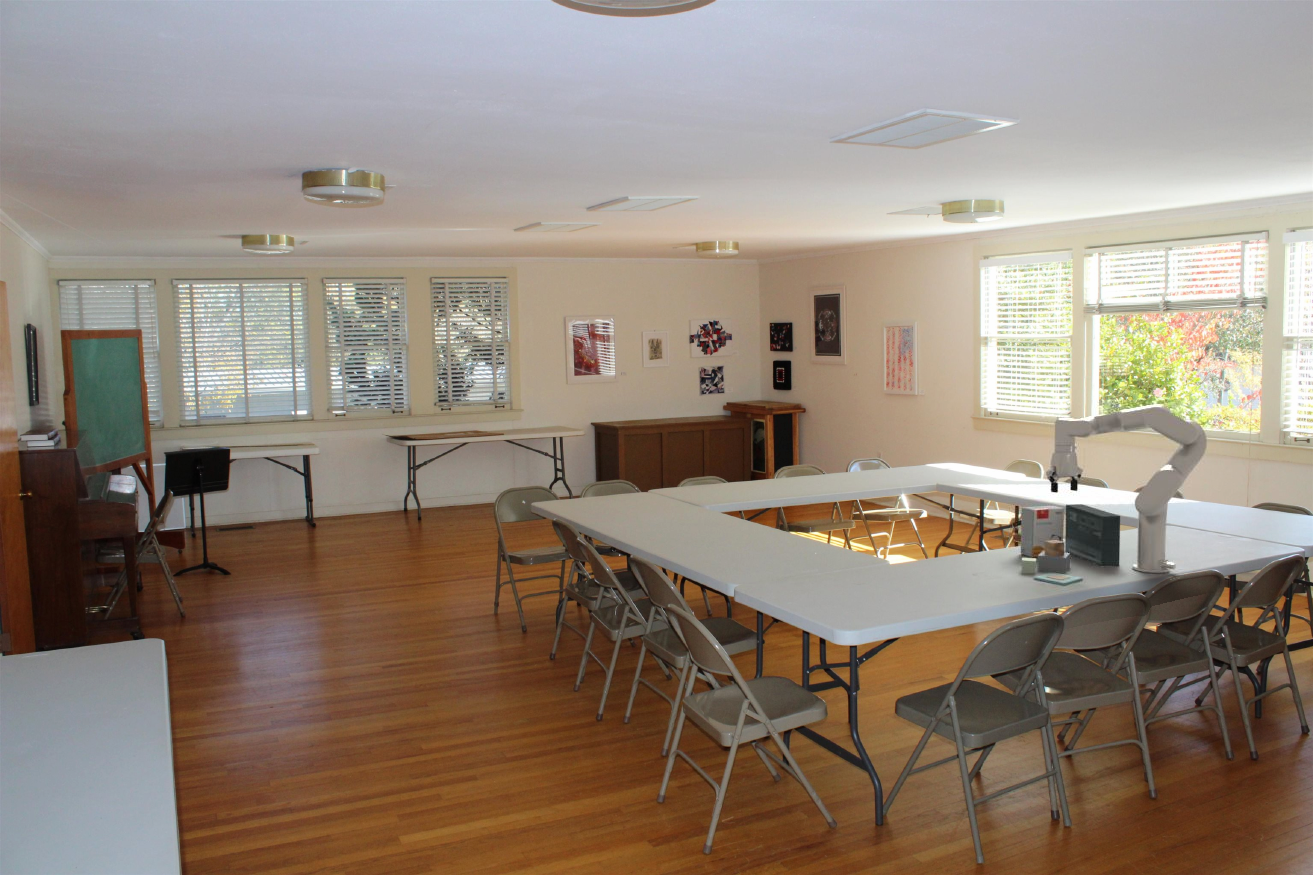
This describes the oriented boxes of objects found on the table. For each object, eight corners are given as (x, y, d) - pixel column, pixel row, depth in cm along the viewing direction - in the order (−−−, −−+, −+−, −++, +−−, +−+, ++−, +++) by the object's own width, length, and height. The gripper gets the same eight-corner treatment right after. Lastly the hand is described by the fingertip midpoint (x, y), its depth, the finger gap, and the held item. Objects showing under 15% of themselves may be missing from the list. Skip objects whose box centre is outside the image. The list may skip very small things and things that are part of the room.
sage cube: (1035, 571, 358) (1036, 558, 358) (1035, 573, 354) (1035, 561, 353) (1022, 570, 360) (1022, 557, 360) (1021, 573, 356) (1021, 560, 355)
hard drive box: (1031, 557, 381) (1032, 510, 379) (1019, 554, 388) (1020, 507, 386) (1063, 554, 385) (1064, 507, 383) (1051, 551, 392) (1051, 504, 390)
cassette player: (1119, 566, 363) (1120, 515, 361) (1102, 566, 362) (1102, 516, 361) (1081, 550, 392) (1081, 504, 390) (1065, 551, 391) (1065, 504, 390)
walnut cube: (1055, 552, 364) (1055, 539, 363) (1064, 555, 359) (1064, 542, 358) (1044, 553, 362) (1044, 540, 362) (1053, 555, 358) (1053, 543, 357)
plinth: (1069, 567, 363) (1070, 552, 362) (1065, 573, 354) (1065, 557, 354) (1042, 565, 368) (1042, 550, 368) (1037, 570, 360) (1038, 555, 359)
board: (1082, 579, 343) (1082, 577, 342) (1064, 585, 336) (1064, 582, 336) (1052, 574, 352) (1052, 571, 352) (1034, 579, 345) (1034, 576, 345)
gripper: (1075, 447, 377) (1074, 488, 378) (1040, 449, 371) (1040, 491, 373) (1089, 448, 369) (1088, 491, 371) (1053, 451, 364) (1053, 494, 366)
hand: (1064, 491), depth 372 cm, fingers open, 9 cm apart
